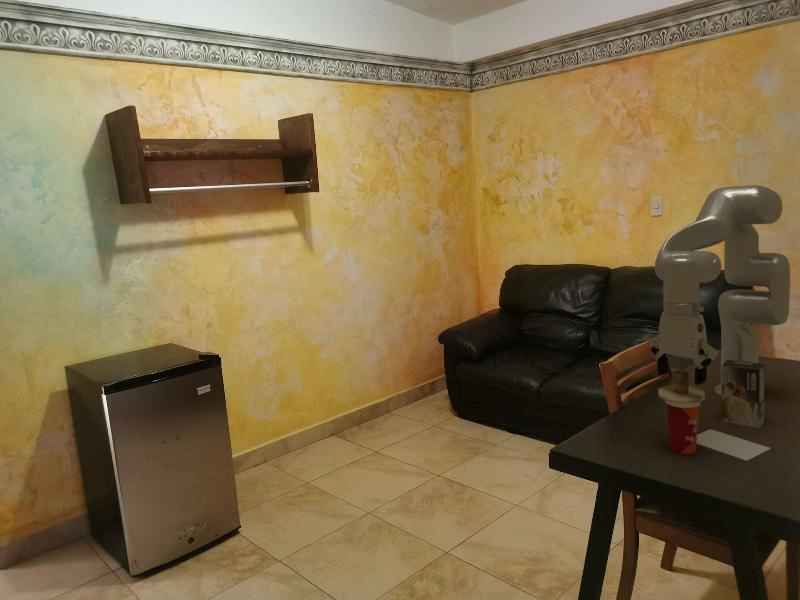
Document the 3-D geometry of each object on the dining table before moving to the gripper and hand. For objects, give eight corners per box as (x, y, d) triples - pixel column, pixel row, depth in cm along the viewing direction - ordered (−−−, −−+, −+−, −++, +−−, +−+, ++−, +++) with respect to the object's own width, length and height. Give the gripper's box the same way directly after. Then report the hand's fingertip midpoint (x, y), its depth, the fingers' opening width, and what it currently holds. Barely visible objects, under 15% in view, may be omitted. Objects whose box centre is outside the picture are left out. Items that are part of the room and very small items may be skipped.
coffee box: (765, 422, 154) (766, 363, 151) (759, 430, 149) (761, 370, 146) (726, 415, 160) (727, 359, 157) (720, 423, 155) (720, 365, 152)
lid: (675, 386, 146) (675, 363, 145) (713, 396, 138) (713, 371, 136) (649, 395, 141) (649, 372, 140) (687, 406, 133) (687, 381, 132)
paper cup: (698, 460, 136) (699, 403, 134) (663, 455, 140) (662, 400, 138) (702, 447, 143) (702, 392, 140) (667, 442, 147) (667, 389, 144)
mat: (710, 431, 151) (710, 429, 151) (770, 450, 138) (770, 448, 138) (686, 442, 146) (686, 439, 146) (746, 463, 133) (746, 460, 133)
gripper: (727, 310, 130) (726, 383, 133) (658, 301, 145) (659, 367, 148) (706, 316, 126) (706, 391, 129) (638, 306, 141) (639, 374, 144)
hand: (681, 378), depth 139 cm, fingers open, 9 cm apart
